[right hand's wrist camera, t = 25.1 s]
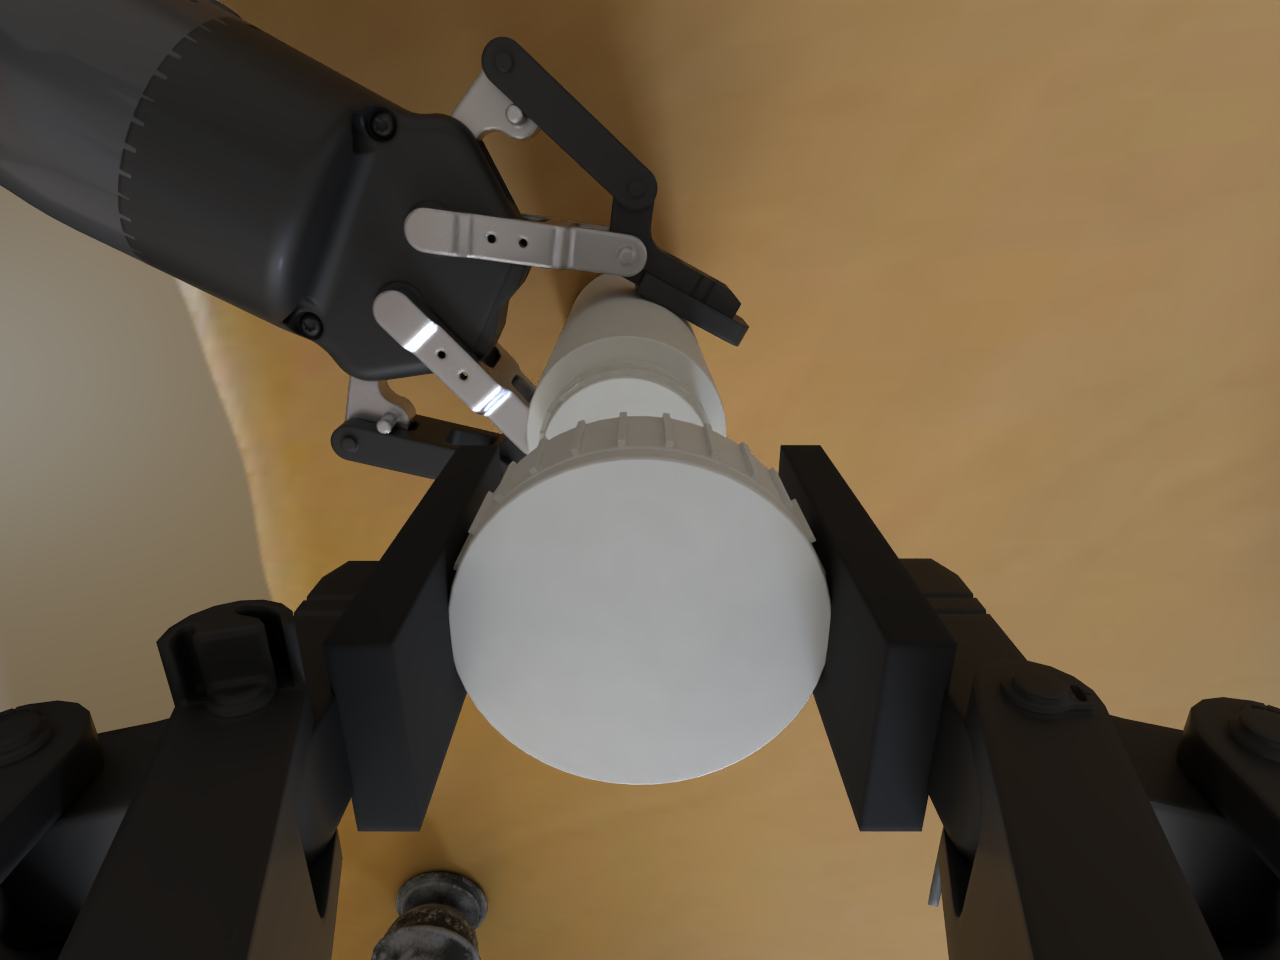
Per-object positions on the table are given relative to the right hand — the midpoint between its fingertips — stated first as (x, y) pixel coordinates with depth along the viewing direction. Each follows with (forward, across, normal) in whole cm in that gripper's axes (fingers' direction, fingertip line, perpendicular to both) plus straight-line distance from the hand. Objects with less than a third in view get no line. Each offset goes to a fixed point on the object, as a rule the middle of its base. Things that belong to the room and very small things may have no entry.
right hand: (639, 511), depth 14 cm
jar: (+17, 0, 0) cm, 17 cm away
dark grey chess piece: (+18, +12, +33) cm, 39 cm away
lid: (-4, 0, 0) cm, 4 cm away
